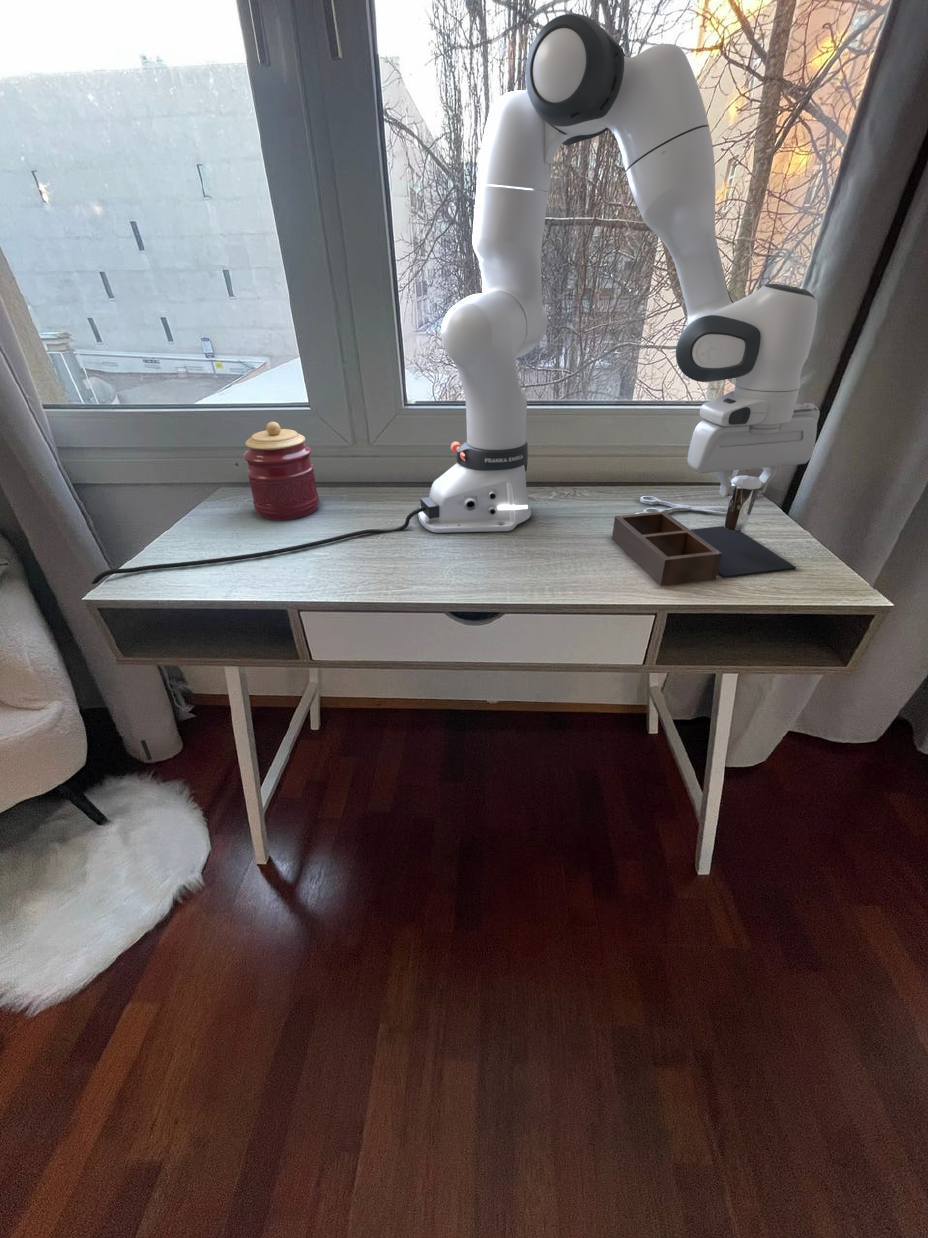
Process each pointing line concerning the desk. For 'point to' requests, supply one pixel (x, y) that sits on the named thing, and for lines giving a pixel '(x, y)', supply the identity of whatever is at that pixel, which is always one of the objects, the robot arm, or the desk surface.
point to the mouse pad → (741, 553)
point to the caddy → (666, 548)
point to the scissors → (676, 507)
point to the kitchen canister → (281, 474)
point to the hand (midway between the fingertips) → (741, 493)
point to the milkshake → (741, 502)
